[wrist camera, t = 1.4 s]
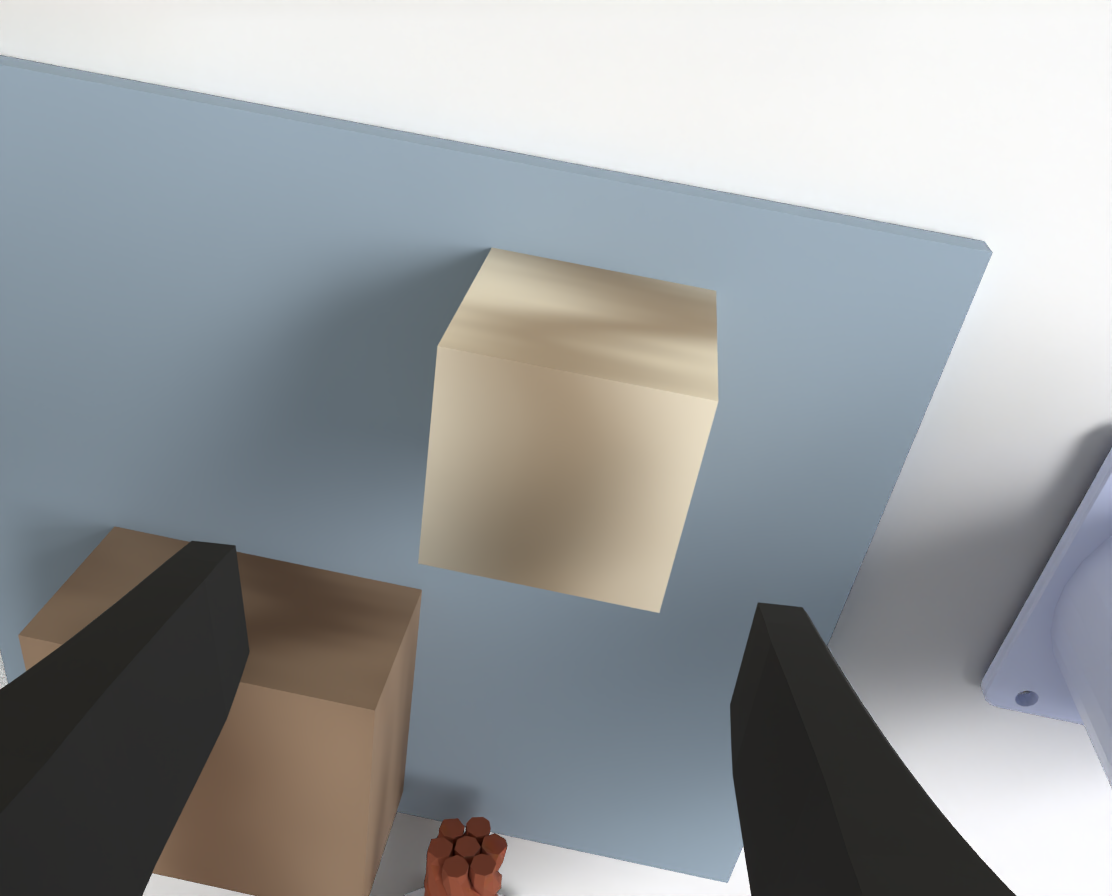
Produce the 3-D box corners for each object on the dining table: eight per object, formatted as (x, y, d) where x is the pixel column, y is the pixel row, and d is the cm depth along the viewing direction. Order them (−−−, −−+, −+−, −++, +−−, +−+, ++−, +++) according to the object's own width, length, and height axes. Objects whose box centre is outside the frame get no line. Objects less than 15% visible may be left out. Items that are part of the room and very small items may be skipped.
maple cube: (716, 290, 19) (718, 401, 15) (667, 477, 21) (658, 612, 17) (492, 247, 19) (436, 346, 15) (469, 437, 21) (418, 563, 17)
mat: (984, 241, 18) (992, 252, 17) (727, 864, 29) (727, 883, 28) (-123, 32, 19) (-146, 36, 18) (31, 715, 30) (19, 730, 29)
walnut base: (422, 589, 24) (375, 710, 20) (403, 791, 28) (361, 918, 25) (114, 526, 24) (17, 635, 21) (142, 736, 28) (66, 854, 25)
